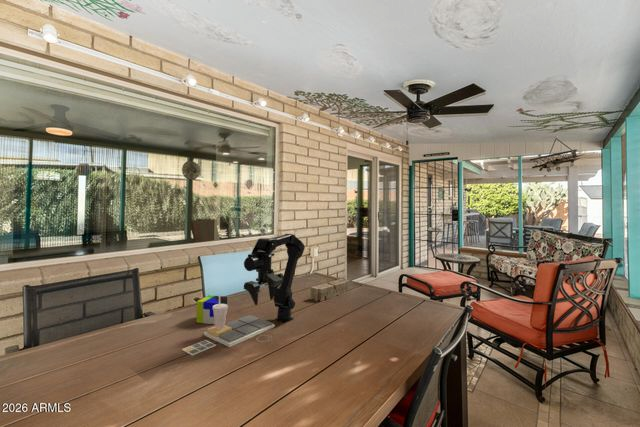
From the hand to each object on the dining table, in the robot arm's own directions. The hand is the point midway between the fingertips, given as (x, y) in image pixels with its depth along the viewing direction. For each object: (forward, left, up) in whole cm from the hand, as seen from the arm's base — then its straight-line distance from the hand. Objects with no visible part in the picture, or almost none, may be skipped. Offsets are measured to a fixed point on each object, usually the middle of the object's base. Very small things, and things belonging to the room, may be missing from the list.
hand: (263, 302), depth 130 cm
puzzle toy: (+6, -29, -13) cm, 32 cm away
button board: (+6, -8, -13) cm, 16 cm away
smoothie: (+14, -12, -11) cm, 21 cm away
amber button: (+14, -12, -13) cm, 22 cm away
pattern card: (+26, -8, -13) cm, 30 cm away
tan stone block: (-64, -6, -14) cm, 65 cm away
